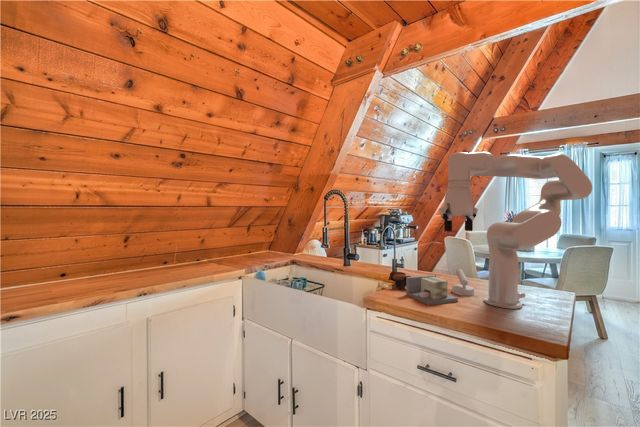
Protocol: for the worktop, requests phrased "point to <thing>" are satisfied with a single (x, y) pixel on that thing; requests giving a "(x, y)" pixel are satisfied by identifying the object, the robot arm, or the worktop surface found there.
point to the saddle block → (434, 287)
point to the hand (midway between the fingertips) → (458, 231)
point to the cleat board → (432, 301)
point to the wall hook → (462, 288)
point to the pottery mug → (398, 280)
